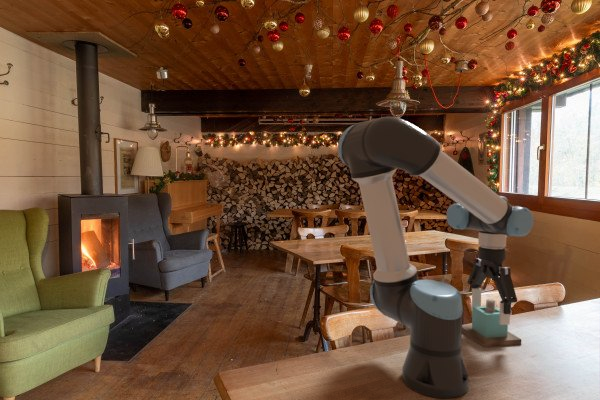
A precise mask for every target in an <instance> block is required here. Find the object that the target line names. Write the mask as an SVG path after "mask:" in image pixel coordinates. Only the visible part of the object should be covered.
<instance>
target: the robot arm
mask: <svg viewBox="0 0 600 400" xmlns="http://www.w3.org/2000/svg"><path fill="white" fill-rule="evenodd" d="M337 151H338V152H337V153H338V157H339V159H340V160H341V162H342V164H344V165H345V166H346V167H348V168H349V173H350V175H351V180H353V181H354V182H356V183H357V184H358V186H359V191H360V194H361V200H362V203H363V205H362V206H363V209H364V214H365V218H366V222H367V227H368V232H369V236H370V237H369V238H370V241H371V245H372V251H373V255H374V256H373V257H374V260H375V265H376V270H375V271H374V272H373V274H372V276H373V279H372V281H371V282H372V284H371V285H370V288H369V297H370V300H371V303H372V305H373V306H374V307H375V309H376V310H378V312H380V313H381V314H383V316H385V317H388V318H389V319H392V320H394V321H396V322H398V324H401V325H403V326H404V327H406V328H408V329H409V330H410V331H409V333H410V334H409V335H410V336H409V337H410V338H409V339H410V340H409V342H410V343H409V349H408V352H407V355H406V357H405V359H404V362H403V364H402V370H401V371H402V372H401V373H402V374H401V375H402V381H403V383H404V384H405V385H406V386H407V387H409V388H410V389H411V390H413V391H415V392H417V393H419V394H421V395H425V396H428V397H430V398H431V397H432V398H436V399H437V398H438V399H453V398H458V397H461V396H464V395H465V394H466V393H467V392H468V391H469V381H470V379H469V374H468V371H467V367H466V365H465V362H464V358H463V355H462V340H463V339H462V335H463V334H462V333H463V332H462V326H463V313H464V308H463V298H462V294H461V292H460V291H459V290H458V289H457V288H456V287H454V286H453V285H451V284H449V283H446V282H442V281H437V280H435V279H419V276H418V275H419V273H418V270H417V267H416V266H415V265H413V264H411V263H410V259H409V254H408V250H407V245H406V240H405V234H404V230H403V226H402V221H401V220H402V219H401V215H400V210H399V206H398V205H399V204H398V200H397V196H396V192H395V186H394V182H393V176H394V174H395V173H396V171H397V169H398V170H402V171H404V172H406V173H407V174H409V175H410V176H412V177H419V176H420V177H421V178H422V179H423V180H425V181H426V182H428V183H429V184H430V185H432V186H433V187H434V188H436V189H438V190H439V191H440V192H442V193H443V194H444V195H446V196H447V197H448V198H450V199H451V200H452V201H454V202H456V203H453V204H451V205H449V207H448V208H447V211H446V214H445V215H446V222H447V224H448V225H449V226H450V228H453V229H455V230H462V231H463V230H474V231H478V238H477V239H478V240H477V241H478V245H479V246H478V249H477V258H476V257H475V258H474V260H473V266H472V269H471V270H470V274H469V277H468V279H467V285H470V287H471V309H473V307H480V306H482V305H481V304H482V284H483V283H484V282H485V280H486V279H487V278H489V279H491V281H492V282H494V285H495V286H496V287H495V288H496V290H497V291H498V292H497V293H498V294H499V296H500V297H499V298H500V299H501V301H499V309H500V316H499V324H500V325H508V326H509V325H510V322H511V321H510V320H511V319H510V318H511V311H512V303H518V298H517V295H516V290H515V286H514V283H513V282H514V281H513V279H512V275H511V267H510V266H503V262H505V261H506V259H507V249H506V247H507V236H508V237H513V236H514V237H525V236H527V235H528V234H529V233H530V232H531V230H532V228H533V226H534V215H533V213H532V211H531V210H530V209H529V208H528V207H524V206H523V207H522V206H520V205H512V204H510V203H509V202H508V198H507V197H506V196H503V195H499V194H498V193H496V191H494V190H493V189H491V188H490V187H488V186H487V184H485V183H483V182H482V181H481V180H480V179H478V177H476V176H474V175H473V173H471V172H470V171H469V170H467V169H466V168H465V167H463V166H462V165H460V164H459V163H458V162H457V161H456V160H455V159H453V158H452V157H451V156H449V155H448V154H447V153H446V152H444V151H443V150H442V146H441V143H440V142H439V141H437V139H435V138H434V137H432V136H431V135H430V134H429V133H428V132H426V131H425V130H423V129H422V128H419V126H417V125H415V124H413V123H411V122H409V121H408V120H405V119H402V118H401V117H395V116H382V117H379V118H374V119H370V120H367V121H360V122H358V123H354V124H353V125H350V126H348V127H347V128H346V129H345V130H344V131H343V133H342V134H341V135H340V137H339V141H338V144H337Z"/></svg>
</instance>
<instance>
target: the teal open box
mask: <svg viewBox="0 0 600 400" xmlns="http://www.w3.org/2000/svg"><path fill="white" fill-rule="evenodd" d="M471 309H472V308H471ZM471 316H472V317H471V321H472V322H471V324H472V325H471V326H472V329H473V330H475V331H476V332H478V333H479V334H481V335H482V336H484V337H485V338H492V337H507V332H509V330H508V329H509V328H508V327H509V324H508V325H500V324H499V316H500V308H499V307H497V306H495V313H487V312H486V305H485V306H483V305H481V306H480V307H473V309H472V315H471Z"/></svg>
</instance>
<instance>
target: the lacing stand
mask: <svg viewBox="0 0 600 400" xmlns="http://www.w3.org/2000/svg"><path fill="white" fill-rule="evenodd" d="M485 306H486V312H487V313H495V307H496V300H494V299H491V298H488V299H487V298H486V300H485ZM462 333H463V334H464V335H466V336H467V337H469V339H471V340H473V341H474V342H475V343H477V344H479V346H481V347H483V348H489V347H502V346H516V345H517V346H518V345H522V339H521V338H520V337H518V336H517V335H515V334H513V333H511V332H509V331H508V332H507V337H492V338H485V337H484V336H482V335H481V334H479V333H478V332H476V331H475V330H473V329H472V325H462Z"/></svg>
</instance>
